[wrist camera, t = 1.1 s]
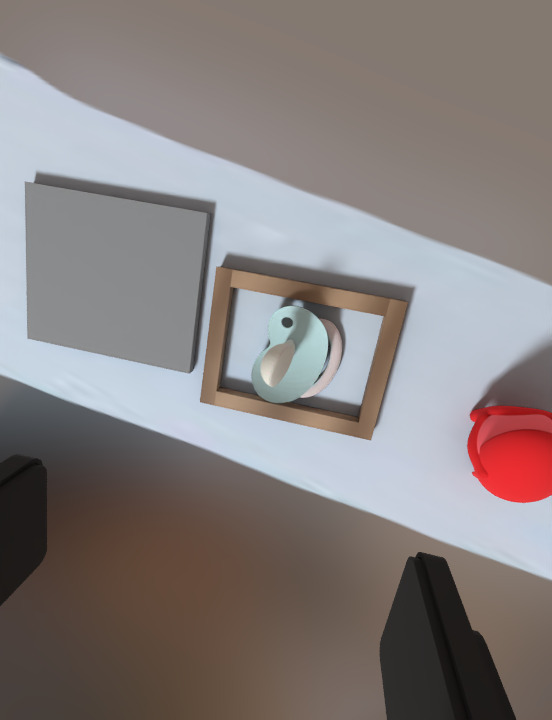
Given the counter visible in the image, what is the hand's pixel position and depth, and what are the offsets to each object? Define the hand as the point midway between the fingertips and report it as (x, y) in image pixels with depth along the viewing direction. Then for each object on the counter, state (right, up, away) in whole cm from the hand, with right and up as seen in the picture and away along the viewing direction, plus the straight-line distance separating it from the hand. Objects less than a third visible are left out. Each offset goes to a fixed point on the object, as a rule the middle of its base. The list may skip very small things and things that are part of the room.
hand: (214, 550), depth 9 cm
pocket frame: (+3, +5, +19) cm, 21 cm away
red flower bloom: (+18, -1, +19) cm, 26 cm away
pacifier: (+3, +5, +20) cm, 21 cm away
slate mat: (-11, +11, +20) cm, 26 cm away
